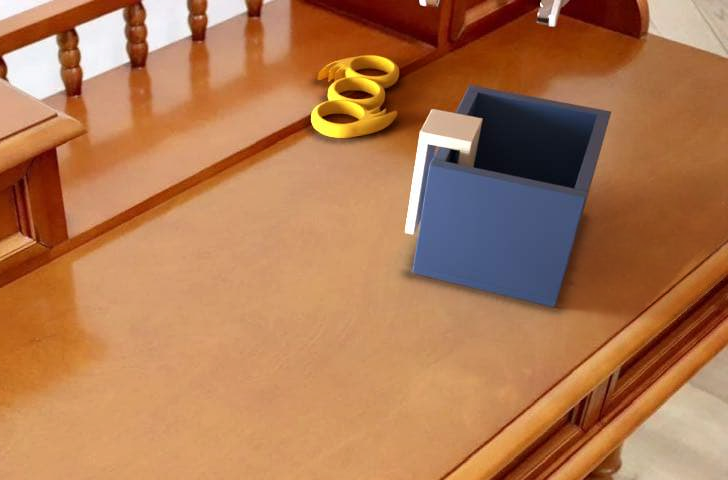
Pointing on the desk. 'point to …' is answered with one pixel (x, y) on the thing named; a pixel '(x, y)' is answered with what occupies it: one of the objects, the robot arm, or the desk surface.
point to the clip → (435, 132)
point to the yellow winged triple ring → (358, 108)
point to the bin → (511, 196)
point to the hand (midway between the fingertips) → (486, 13)
